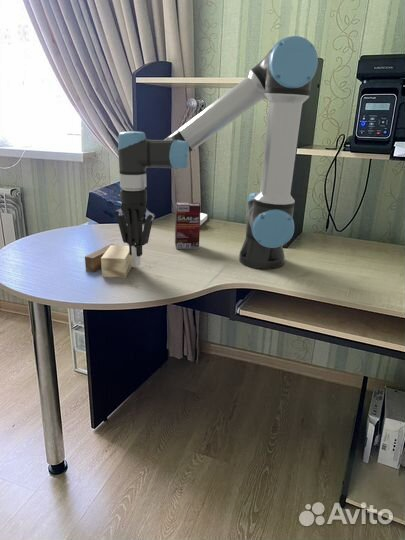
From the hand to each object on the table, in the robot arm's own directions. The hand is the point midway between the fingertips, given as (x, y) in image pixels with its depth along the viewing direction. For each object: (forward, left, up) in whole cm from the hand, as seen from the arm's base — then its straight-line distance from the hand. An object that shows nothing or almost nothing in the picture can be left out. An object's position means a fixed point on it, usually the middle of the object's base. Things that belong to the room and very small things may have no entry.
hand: (136, 265), depth 128 cm
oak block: (+5, +2, -2) cm, 6 cm away
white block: (+7, -61, -2) cm, 61 cm away
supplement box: (-4, -28, -2) cm, 29 cm away
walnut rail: (+12, 0, -2) cm, 12 cm away
